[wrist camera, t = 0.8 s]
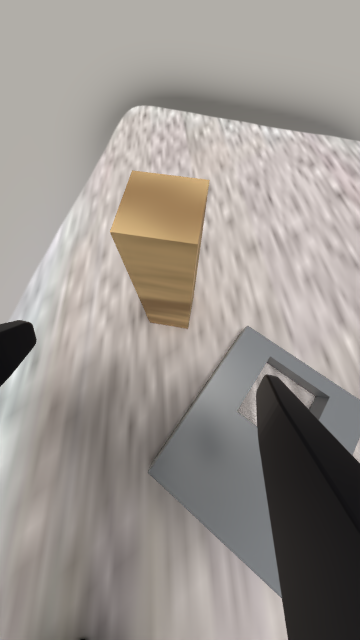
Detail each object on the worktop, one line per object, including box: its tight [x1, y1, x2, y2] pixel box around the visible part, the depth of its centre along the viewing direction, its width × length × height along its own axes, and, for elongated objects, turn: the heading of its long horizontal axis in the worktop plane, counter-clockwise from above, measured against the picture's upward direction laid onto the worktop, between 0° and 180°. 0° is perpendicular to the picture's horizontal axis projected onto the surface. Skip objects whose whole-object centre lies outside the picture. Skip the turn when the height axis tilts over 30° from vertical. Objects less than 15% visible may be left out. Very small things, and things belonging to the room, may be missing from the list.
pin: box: [110, 171, 209, 329], centre depth 17 cm, size 4×4×14 cm
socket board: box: [148, 326, 360, 598], centre depth 19 cm, size 16×13×2 cm
